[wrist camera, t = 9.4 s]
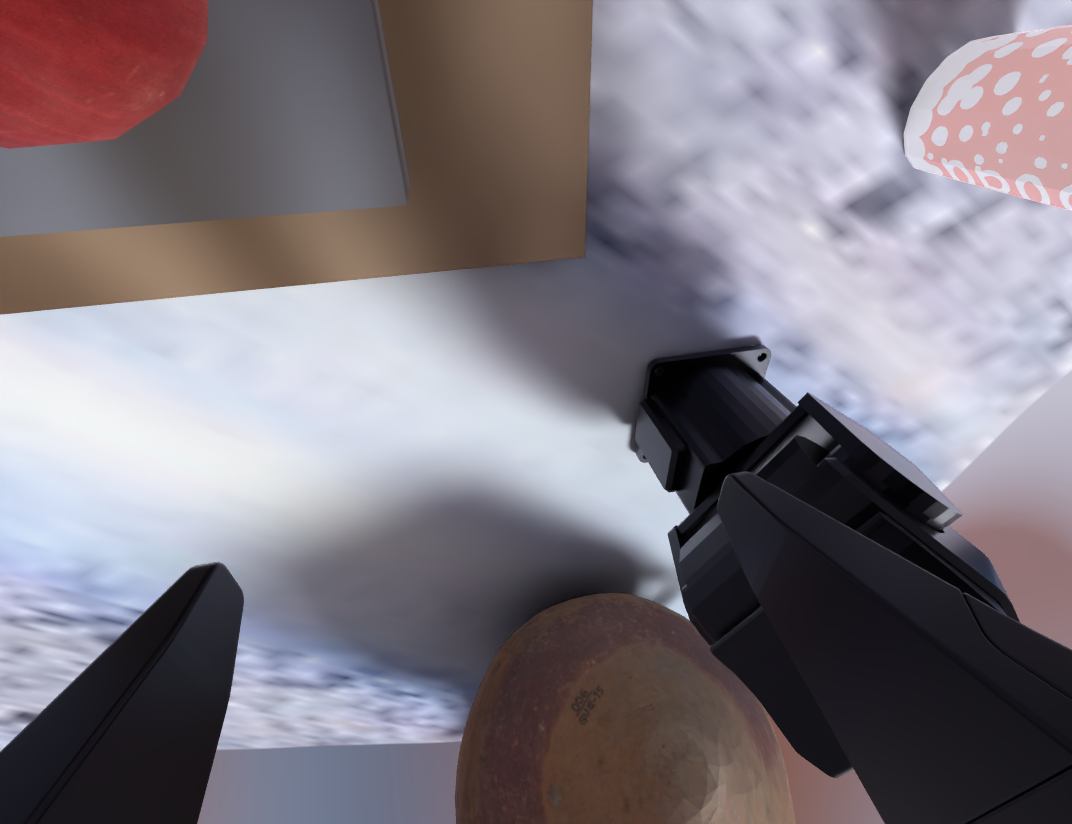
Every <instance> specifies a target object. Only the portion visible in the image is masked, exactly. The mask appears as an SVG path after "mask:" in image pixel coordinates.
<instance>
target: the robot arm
mask: <svg viewBox="0 0 1072 824" xmlns="http://www.w3.org/2000/svg"><path fill="white" fill-rule="evenodd" d="M760 354H761V356H759V355H760ZM758 356H759V357H758ZM770 358H771V351H770V350H769V349H768V348H767V347H765V346H764V345H756V346H748V347H741V348H733V349H726V350H718V351H711V352H703V353H696V354H688V355H681V356H673V357H666V358H658V359H655V360H653V361H651V362H650V363H649V365H648V367H647V371H646V379H645V387H644V395H643V399H642V400H641V401H640V403H639V409H638V417H637V425H636V433H635V441H636V442H637V450H636V455H637V457H638V459H639V460H640V461H641V462H643V463H646V462H649V464H650V466H651V468H652V469H653V471H654V473H655V474H656V476H657V478H658V479H659V481H660V483H661V484H662V486H663V488H664V489H665V490H666V491H668V492H674V491H676V493H677V495H678V496H679V498H680V499H681V501H682V503H683V504H684V506H685V508H686V509H687V511H688V512H689V514H690V515H689V516H688V517H687V518H686V519H685V520H684V521H683V522H682V523H681V524H680V525H679V526H675V527H674V528H673V529H672V530H671V531H670V532H669V533H668V538H669V542H670V546H671V551H672V555H673V559H674V564H675V568H676V572H677V576H678V581H679V585H680V589H681V594H682V598H683V602H684V605H685V608H686V611H687V613H688V616H689V619H690V621H691V623H692V624H693V625H694V626H695V627H696V629H697V630H698V632H699V633H700V635H701V636H702V637H703V638H704V639H705V641H706V642H707V643H708V644H709V645H710V651H711V653H712V654H713V655H714V656H715V657H716V658H717V659H718V660H719V661H720V662H722V663H723V664H724V665H725V666H726V667H727V668H729V669H730V670H731V671H732V672H733V673H734V674H735V675H736V676H737V677H738V678H739V679H740V680H741V681H742V682H743V683H744V684H745V685H746V687H747V688H748V689H749V690H750V691H751V692H752V693H753V694H754V695H755V696H756V698H757V699H758V700H759V702H760V703H761V704H762V706H763V707H764V708H765V709H766V711H767V712H768V713H769V715H770V716H771V717H772V719H773V720H774V722H775V723H776V725H777V726H778V727H779V729H780V730H781V731H782V733H783V734H784V736H785V737H786V738H787V740H788V741H789V742H790V744H791V745H792V747H793V748H794V749H795V751H796V752H797V753H798V754H800V755H801V756H802V757H804V758H805V759H806V760H808V761H809V762H810V763H812V764H813V765H814V766H816V767H817V768H819V769H820V770H821V771H823V772H824V773H825V774H827V775H829V776H831V777H834V778H839V777H840V776H842V775H844V774H846V773H848V772H850V771H852V770H853V769H854V770H855V772H856V774H857V775H858V777H859V779H860V781H861V782H862V784H863V786H864V788H865V789H866V791H867V793H868V795H869V796H870V798H871V800H872V802H873V804H874V805H875V807H876V809H877V810H878V812H879V814H880V816H881V818H882V819H883V821H884V823H885V824H1072V650H1071V649H1069V648H1067V647H1065V646H1063V645H1061V644H1059V643H1057V642H1055V641H1054V640H1052V639H1049V638H1048V637H1046V636H1044V635H1042V634H1040V633H1038V632H1036V631H1034V630H1032V629H1031V628H1029V627H1027V626H1025V625H1023V624H1021V623H1020V622H1019V619H1018V617H1017V614H1016V612H1015V610H1014V608H1013V605H1012V603H1011V601H1010V599H1009V597H1008V595H1007V593H1006V591H1005V589H1004V587H1003V585H1002V583H1001V581H1000V579H999V577H998V575H997V573H996V571H995V569H994V567H993V565H992V563H991V562H990V560H989V558H988V557H987V556H985V554H984V553H983V552H981V551H980V550H979V549H978V548H976V547H975V546H974V545H973V544H971V543H970V542H969V541H967V540H966V539H965V538H964V537H963V536H961V535H960V534H959V533H958V532H956V531H955V530H954V529H953V528H951V527H950V526H949V525H950V524H951V523H952V522H954V521H955V520H956V519H958V518H959V517H961V516H962V515H963V514H962V512H961V511H960V510H959V509H958V508H957V507H956V506H955V505H954V504H953V503H952V502H951V501H950V500H949V499H948V498H947V497H946V496H945V495H944V494H943V493H942V492H941V491H940V490H939V489H938V488H937V487H936V486H935V485H934V484H933V483H932V482H931V481H930V480H929V479H928V478H927V477H926V476H925V475H924V474H923V473H922V472H921V471H920V470H919V469H918V468H917V466H915V465H914V464H913V463H912V462H911V461H909V460H908V459H907V458H905V457H904V456H903V455H901V454H900V453H899V452H897V451H896V450H895V449H893V448H892V447H891V446H889V445H888V444H887V443H885V442H884V441H883V440H881V439H880V438H879V437H877V436H876V435H875V434H873V433H872V432H871V431H869V430H868V429H867V428H865V427H863V426H862V425H860V424H858V423H857V422H855V421H854V420H852V419H850V418H849V417H847V416H845V415H844V414H842V413H841V412H839V411H837V410H836V409H834V408H832V407H831V406H829V405H828V404H826V403H824V402H823V401H821V400H819V399H818V398H816V397H815V396H813V395H811V394H810V393H807V394H806V395H805V396H804V397H803V398H802V399H801V400H800V401H799V402H798V404H799V405H798V406H797V407H796V406H795V405H794V404H793V403H792V402H791V401H789V400H788V399H787V398H786V397H785V396H784V395H783V394H781V393H780V392H779V391H778V390H777V389H776V388H775V387H773V386H772V385H771V384H770V383H769V382H768V381H767V380H765V379H764V377H765V374H766V371H767V368H768V364H769V361H770ZM659 367H661V369H660V370H659V371H657V372H655V370H656V369H657V368H659ZM243 605H244V597H243V592H242V590H241V588H240V586H239V585H238V583H237V582H236V581H235V579H234V578H233V576H232V575H231V573H230V572H229V570H228V569H227V568H226V566H225V565H224V564H222V563H220V562H214V563H208V564H202V565H197V566H194V567H192V568H190V569H189V570H188V571H186V572H185V573H184V574H183V575H182V576H181V577H180V578H179V579H178V580H177V581H176V582H175V583H174V584H173V585H172V586H171V587H170V588H169V589H168V590H167V591H166V592H165V593H164V594H163V595H162V596H161V597H159V598H158V599H157V600H156V601H155V602H154V603H153V604H152V605H151V606H150V607H149V608H148V609H147V610H146V611H145V612H144V613H143V614H142V615H141V616H140V617H139V618H138V619H137V620H136V621H135V622H134V623H133V624H132V625H131V626H130V627H129V628H127V629H126V630H125V631H124V632H123V633H122V634H121V635H120V636H119V637H118V638H117V639H116V640H115V641H114V642H113V643H112V644H111V645H110V646H109V647H108V648H107V649H106V650H105V651H104V652H103V653H102V654H101V655H100V656H99V657H98V658H97V659H95V660H94V661H93V662H92V663H91V664H90V665H89V666H88V667H87V668H86V669H85V670H84V671H83V672H82V673H81V674H80V675H79V676H78V677H77V678H76V679H75V680H74V681H73V682H72V683H71V684H70V685H69V686H68V687H67V688H66V689H65V690H63V691H62V692H61V693H60V694H59V695H58V696H57V697H56V698H55V699H54V700H53V701H52V702H51V703H50V704H49V705H48V706H47V707H46V708H45V709H44V710H43V711H42V712H41V713H40V714H39V715H38V716H37V717H36V718H35V719H34V720H33V721H31V722H30V723H29V724H28V725H27V726H26V727H25V728H24V729H23V730H22V731H21V732H20V733H19V734H18V735H17V736H16V737H15V738H14V739H13V740H12V741H11V742H10V743H9V744H8V745H7V746H6V747H5V748H4V749H3V750H2V751H1V752H0V824H197V822H198V818H199V814H200V811H201V807H202V803H203V799H204V795H205V791H206V787H207V783H208V780H209V776H210V772H211V768H212V764H213V760H214V756H215V753H216V749H217V745H218V741H219V737H220V733H221V730H222V726H223V722H224V718H225V714H226V710H227V706H228V701H229V697H230V692H231V686H232V680H233V674H234V667H235V660H236V653H237V646H238V639H239V632H240V626H241V619H242V612H243Z"/></svg>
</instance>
